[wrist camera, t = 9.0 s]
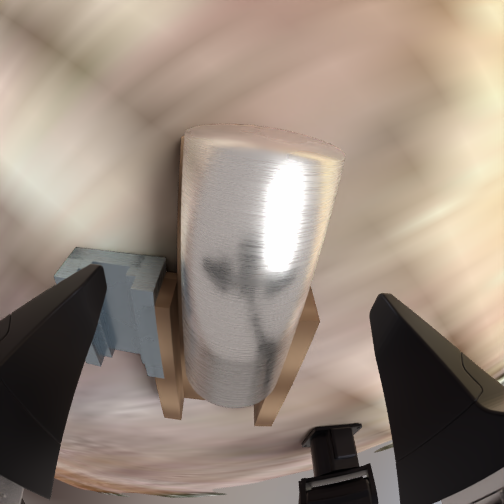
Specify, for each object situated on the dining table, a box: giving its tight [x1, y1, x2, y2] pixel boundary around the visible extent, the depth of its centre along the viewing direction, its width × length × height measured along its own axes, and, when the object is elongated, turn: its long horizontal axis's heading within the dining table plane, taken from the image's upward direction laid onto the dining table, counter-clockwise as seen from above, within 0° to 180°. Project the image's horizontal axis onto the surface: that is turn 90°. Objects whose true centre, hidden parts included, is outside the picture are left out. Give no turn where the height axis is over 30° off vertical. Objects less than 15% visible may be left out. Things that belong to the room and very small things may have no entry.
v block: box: [54, 247, 166, 379], centre depth 17 cm, size 8×6×3 cm
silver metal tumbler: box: [181, 124, 346, 408], centre depth 13 cm, size 13×6×6 cm, turn 173°
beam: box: [153, 136, 320, 426], centre depth 18 cm, size 22×9×3 cm, turn 172°
